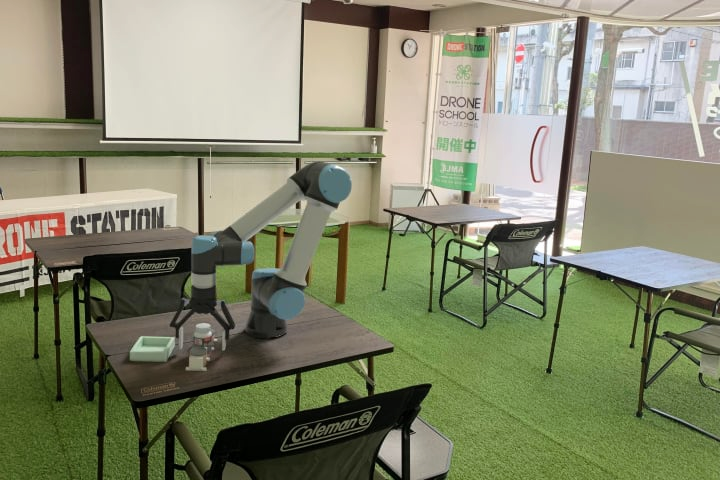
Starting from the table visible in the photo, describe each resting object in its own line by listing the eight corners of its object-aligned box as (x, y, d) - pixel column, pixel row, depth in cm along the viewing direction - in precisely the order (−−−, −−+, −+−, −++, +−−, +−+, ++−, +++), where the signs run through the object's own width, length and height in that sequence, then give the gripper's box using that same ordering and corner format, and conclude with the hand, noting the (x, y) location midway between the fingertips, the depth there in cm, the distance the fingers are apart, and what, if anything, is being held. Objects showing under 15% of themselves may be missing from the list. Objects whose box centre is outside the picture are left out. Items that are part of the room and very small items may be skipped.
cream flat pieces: (217, 340, 214) (217, 329, 213) (205, 370, 191) (206, 358, 190) (199, 340, 214) (199, 329, 213) (185, 370, 190) (185, 358, 189)
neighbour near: (207, 361, 197) (208, 347, 196) (205, 368, 192) (205, 353, 191) (191, 361, 197) (191, 346, 196) (188, 368, 192) (188, 353, 191)
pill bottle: (206, 359, 199) (207, 329, 197) (190, 356, 200) (190, 327, 198) (214, 352, 204) (215, 323, 202) (198, 350, 205) (198, 321, 203)
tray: (174, 345, 208) (174, 337, 207) (166, 361, 195) (166, 352, 194) (140, 344, 207) (140, 336, 206) (129, 360, 194) (129, 351, 193)
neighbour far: (215, 342, 213) (215, 328, 212) (213, 348, 208) (213, 334, 207) (199, 342, 212) (199, 328, 211) (197, 348, 207) (197, 333, 206)
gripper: (244, 283, 202) (242, 344, 206) (165, 279, 200) (165, 342, 204) (242, 290, 195) (240, 354, 199) (160, 286, 192) (160, 351, 197)
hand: (202, 348), depth 202 cm, fingers open, 13 cm apart
